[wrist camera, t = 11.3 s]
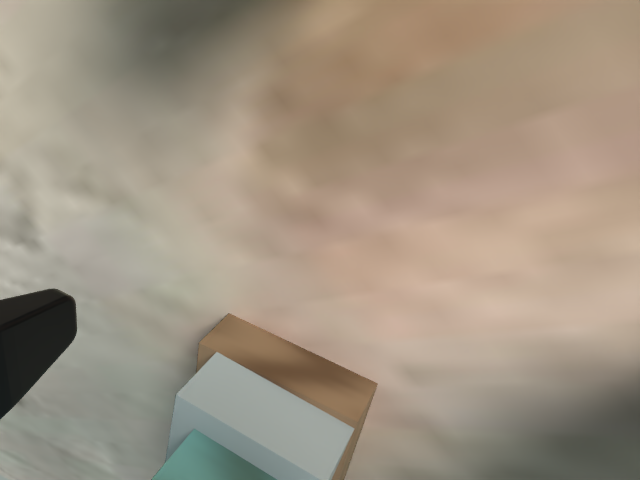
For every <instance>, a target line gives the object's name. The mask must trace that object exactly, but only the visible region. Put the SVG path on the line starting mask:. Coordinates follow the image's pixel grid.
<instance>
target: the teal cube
mask: <svg viewBox="0 0 640 480" xmlns="http://www.w3.org/2000/svg"><path fill="white" fill-rule="evenodd" d="M151 480H277V479H276V478H274V477H272V476H271V475H269V474H267V473H266V472H264V471H263V470H261V469H259V468H258V467H256V466H254V465H253V464H251V463H250V462H248V461H246V460H245V459H243V458H241V457H240V456H238V455H237V454H235V453H233V452H232V451H230V450H229V449H227V448H225V447H224V446H222V445H220V444H219V443H217V442H215V441H214V440H212V439H211V438H209V437H207V436H206V435H204V434H202V433H201V432H199V431H198V430H196V429H194V430H193V431H192V432H191V433H190V434H189V436H188V437H187V438H186V439H185V440H184V441H183V443H182V444H181V445H180V446H179V447H178V449H177V450H176V451H175V452H174V453H173V455H172V456H171V457H170V458H169V459H168V460H167V462H166V463H165V464H164V465H163V466H162V468H161V469H160V470H159V471H158V472H157V473H156V475H155V476H154V477H153V478H152V479H151Z"/></svg>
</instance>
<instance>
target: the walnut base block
mask: <svg viewBox="0 0 640 480" xmlns="http://www.w3.org/2000/svg"><path fill="white" fill-rule="evenodd" d="M216 352H218V353H220V354H222V355H224V356H225V357H227V358H229V359H231V360H232V361H234V362H236V363H238V364H240V365H241V366H243V367H245V368H247V369H249V370H250V371H252V372H254V373H256V374H258V375H259V376H261V377H263V378H265V379H267V380H268V381H270V382H272V383H274V384H276V385H277V386H279V387H281V388H283V389H284V390H286V391H288V392H290V393H292V394H293V395H295V396H297V397H299V398H301V399H302V400H304V401H306V402H308V403H310V404H311V405H313V406H315V407H317V408H319V409H320V410H322V411H324V412H326V413H328V414H329V415H331V416H333V417H335V418H336V419H338V420H340V421H342V422H344V423H345V424H347V425H349V426H351V427H353V428H354V431H353V433H352V435H351V437H350V440H349V442H348V444H347V446H346V449H345V451H344V453H343V455H342V457H341V460H340V462H339V464H338V466H337V468H336V471H335V473H334V475H333V477H332V480H344V478H345V475H346V473H347V470H348V467H349V464H350V461H351V458H352V455H353V453H354V450H355V447H356V444H357V441H358V438H359V436H360V433H361V430H362V427H363V424H364V421H365V418H366V416H367V413H368V410H369V407H370V404H371V401H372V399H373V396H374V393H375V390H376V387H377V383H375V382H373V381H371V380H369V379H367V378H365V377H362V376H360V375H358V374H356V373H354V372H352V371H350V370H348V369H345V368H343V367H341V366H339V365H337V364H335V363H333V362H331V361H329V360H326V359H324V358H322V357H320V356H318V355H316V354H314V353H312V352H310V351H307V350H305V349H303V348H301V347H299V346H297V345H295V344H293V343H291V342H288V341H286V340H284V339H282V338H280V337H278V336H276V335H274V334H272V333H269V332H267V331H265V330H263V329H261V328H259V327H257V326H255V325H253V324H250V323H248V322H246V321H244V320H242V319H240V318H238V317H236V316H234V315H231V314H228V315H227V316H226V317H225V318H224V319H223V320H222V321H221V322H220V323H219V324H218V325H217V326H216V327H215V328H214V329H213V330H212V331H211V332H210V333H209V334H207V335H206V336H205V337H204V338H203V339H202V340H201V341H200V342H199V348H198V358H197V368H196V373H197V372H198V371H199V370H200V369H201V368H202V367H203V366H204V365H205V364H206V363H207V361H208V360H209V359H210V358H211V357H212V356H213V355H214V354H215V353H216Z"/></svg>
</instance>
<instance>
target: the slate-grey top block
mask: <svg viewBox="0 0 640 480" xmlns="http://www.w3.org/2000/svg"><path fill="white" fill-rule="evenodd" d="M194 429H196V430H198V431H199V432H201V433H202V434H204V435H206V436H207V437H209V438H211V439H212V440H214V441H215V442H217V443H219V444H220V445H222V446H224V447H225V448H227V449H229V450H230V451H232V452H233V453H235V454H237V455H238V456H240V457H241V458H243V459H245V460H246V461H248V462H250V463H251V464H253V465H254V466H256V467H258V468H259V469H261V470H263V471H264V472H266V473H267V474H269V475H271V476H272V477H274V478H276V479H277V480H332V477H333V475H334V473H335V471H336V468H337V466H338V464H339V462H340V460H341V457H342V455H343V453H344V451H345V449H346V446H347V444H348V442H349V440H350V437H351V435H352V433H353V431H354V428H353V427H351V426H349V425H347V424H345V423H344V422H342V421H340V420H338V419H336V418H335V417H333V416H331V415H329V414H328V413H326V412H324V411H322V410H320V409H319V408H317V407H315V406H313V405H311V404H310V403H308V402H306V401H304V400H302V399H301V398H299V397H297V396H295V395H293V394H292V393H290V392H288V391H286V390H284V389H283V388H281V387H279V386H277V385H276V384H274V383H272V382H270V381H268V380H267V379H265V378H263V377H261V376H259V375H258V374H256V373H254V372H252V371H250V370H249V369H247V368H245V367H243V366H241V365H240V364H238V363H236V362H234V361H232V360H231V359H229V358H227V357H225V356H224V355H222V354H220V353H218V352H216V353H215V354H214V355H213V356H212V357H211V358H210V359H209V360H208V361H207V363H206V364H205V365H204V366H203V367H202V368H201V369H200V370H199V371H198V372H197V373H196V374H195V375H194V376H193V377H192V378H191V379H190V380H189V381H188V382H187V384H186V385H185V386H184V387H183V388H182V389H181V390H180V391H179V392H178V393H177V394H176V398H175V404H174V410H173V416H172V423H171V429H170V435H169V441H168V448H167V454H166V460H165V463H166V462H167V460H168V459H169V458H170V457H171V456H172V455H173V453H174V452H175V451H176V450H177V449H178V447H179V446H180V445H181V444H182V443H183V441H184V440H185V439H186V438H187V437H188V436H189V434H190V433H191V432H192V431H193V430H194Z"/></svg>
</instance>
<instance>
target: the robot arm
mask: <svg viewBox="0 0 640 480" xmlns="http://www.w3.org/2000/svg"><path fill="white" fill-rule="evenodd" d="M76 332H77V319H76V303H75V300H74V298H73V297H72V296H70V295H68V294H66V293H64V292H62V291H60V290H58V289H47V290H43V291H38V292H34V293H29V294H25V295H20V296H16V297H11V298H7V299H2V300H0V419H1V418H2V417H3V416H4V415H5V414H6V413H7V412H9V411H10V410H11V409H12V408H13V407H14V406H15V405H16V404H17V402H18V401H19V400H20V399H21V398H22V397H23V396H24V395H25V394H26V393H27V392H28V391H29V390H30V388H31V387H32V386H33V385H34V384H35V383H36V382H37V381H38V380H39V378H40V377H41V376H42V375H43V374H44V373H45V372H46V371H47V370H48V368H49V367H50V366H51V365H52V364H53V363H54V362H55V361H56V360H57V359H58V357H59V356H60V355H61V354H62V353H63V352H64V351H65V350H66V349H67V347H68V346H69V345H70V344H71V343H72V341H73V340H74V338H75V336H76Z"/></svg>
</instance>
